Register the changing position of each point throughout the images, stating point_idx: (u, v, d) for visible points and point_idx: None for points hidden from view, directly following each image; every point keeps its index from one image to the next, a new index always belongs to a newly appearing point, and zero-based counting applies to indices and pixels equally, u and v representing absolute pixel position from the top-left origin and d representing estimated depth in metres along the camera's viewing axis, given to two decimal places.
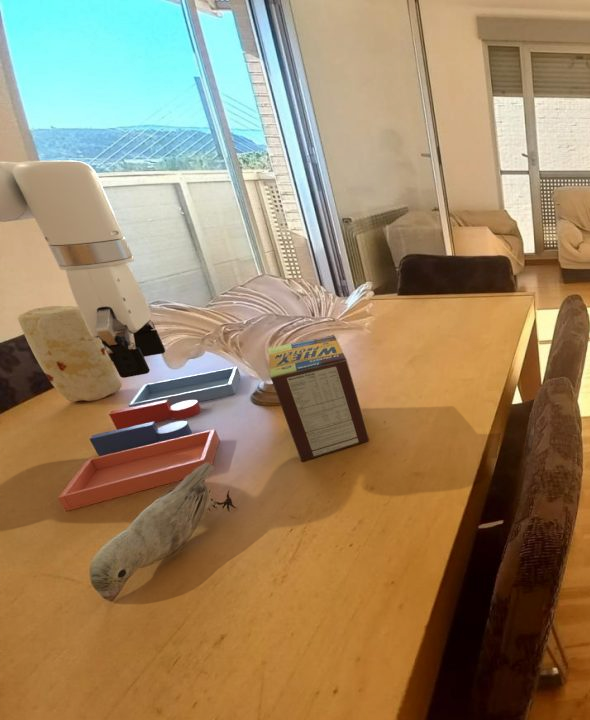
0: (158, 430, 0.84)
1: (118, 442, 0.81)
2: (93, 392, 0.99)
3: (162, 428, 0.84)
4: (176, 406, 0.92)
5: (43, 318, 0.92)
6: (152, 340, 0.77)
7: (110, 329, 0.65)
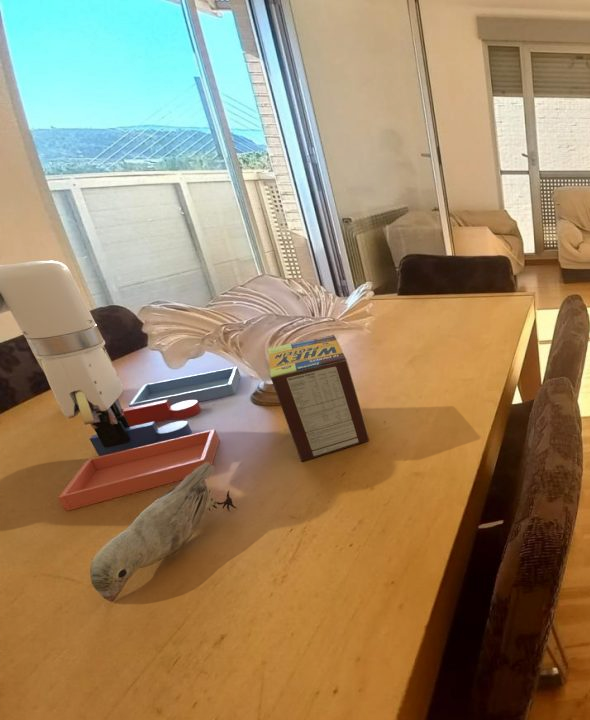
0: (158, 430, 0.84)
1: None
2: None
3: (162, 428, 0.84)
4: (176, 406, 0.92)
5: None
6: None
7: (95, 418, 0.75)
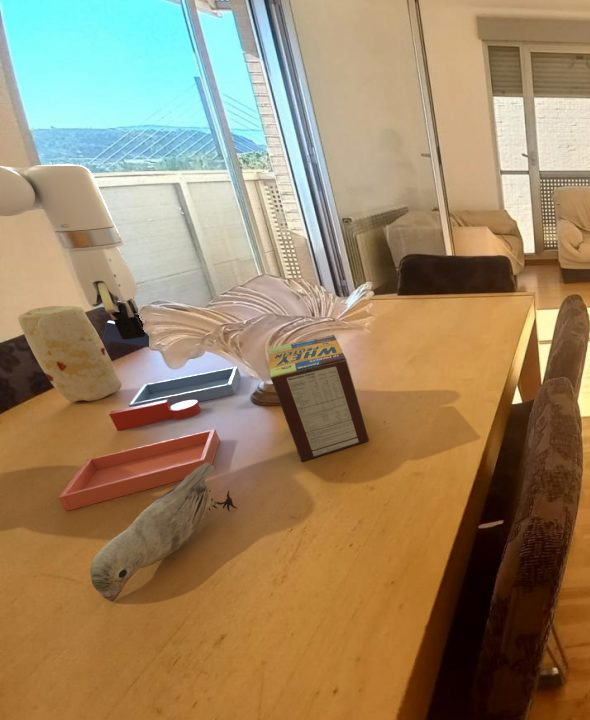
0: None
1: None
2: (93, 392, 0.99)
3: None
4: (176, 406, 0.92)
5: (43, 318, 0.92)
6: None
7: (115, 308, 0.85)
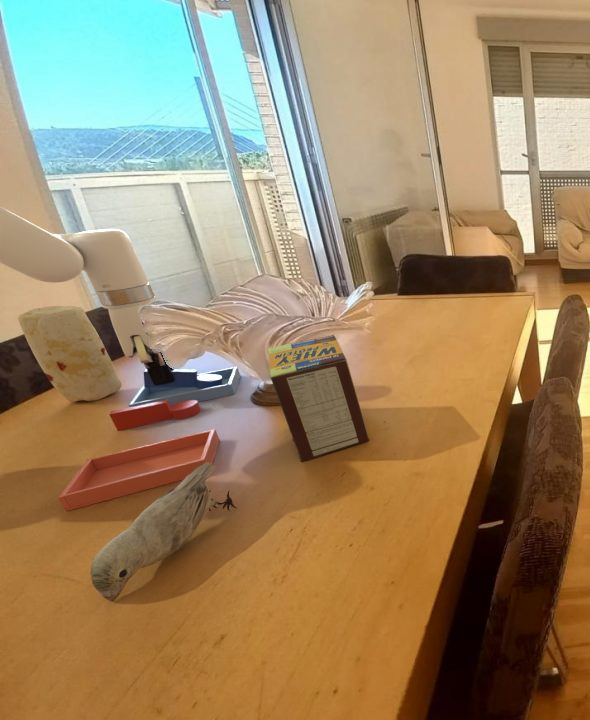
0: (198, 377, 1.01)
1: None
2: (93, 392, 0.99)
3: (201, 376, 1.02)
4: (176, 406, 0.92)
5: (43, 318, 0.92)
6: None
7: (149, 358, 0.92)
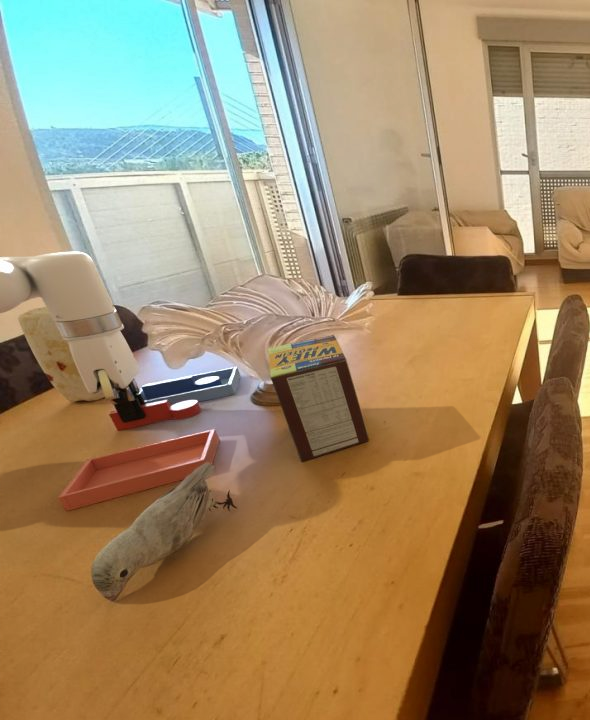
0: (195, 382, 1.01)
1: (164, 390, 0.98)
2: None
3: (199, 381, 1.02)
4: (176, 406, 0.92)
5: (43, 318, 0.92)
6: None
7: (115, 394, 0.83)
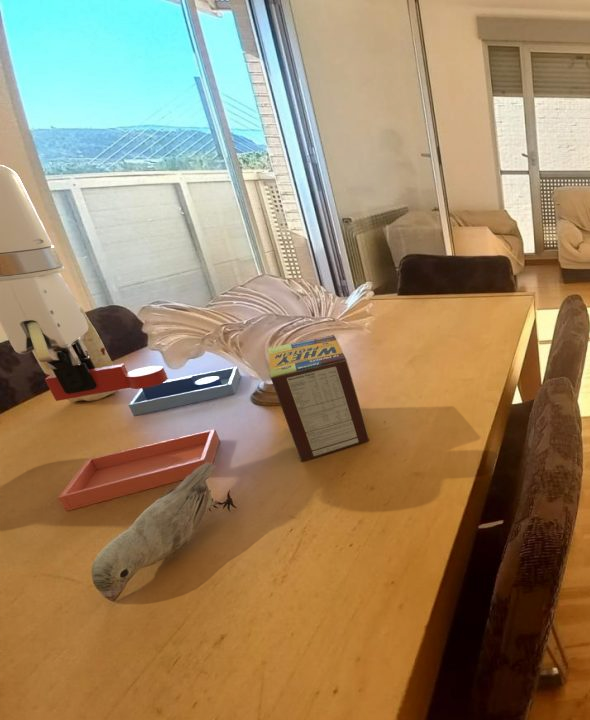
0: (195, 382, 1.01)
1: (164, 390, 0.98)
2: None
3: (199, 381, 1.02)
4: (135, 372, 0.73)
5: None
6: None
7: (52, 355, 0.64)
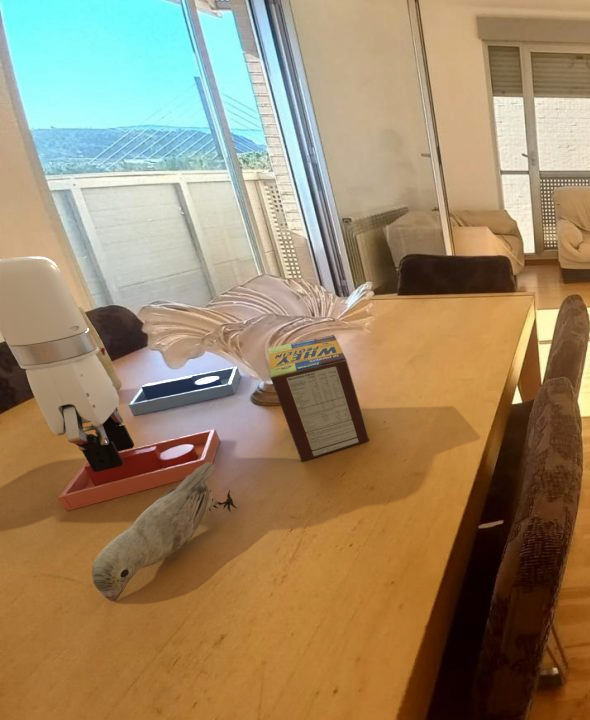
0: (195, 382, 1.01)
1: (164, 390, 0.98)
2: None
3: (199, 381, 1.02)
4: (167, 453, 0.76)
5: None
6: (120, 436, 0.74)
7: (81, 435, 0.65)
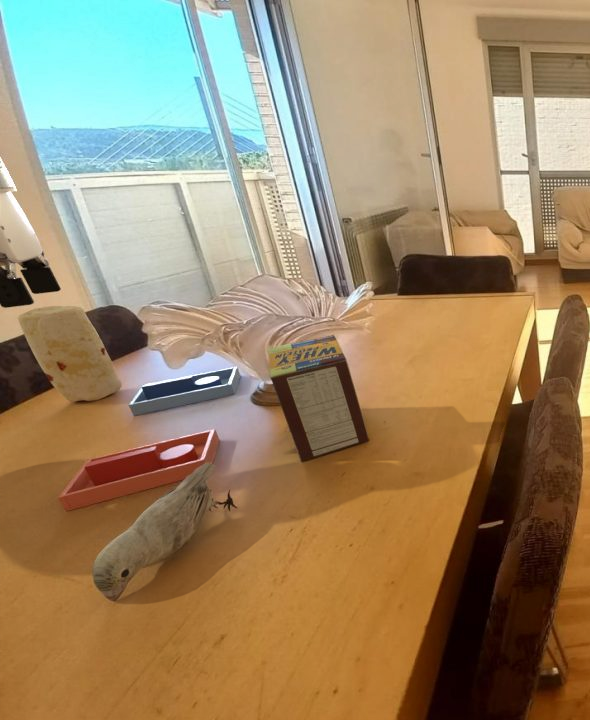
0: (195, 382, 1.01)
1: (164, 390, 0.98)
2: (93, 392, 0.99)
3: (199, 381, 1.02)
4: (167, 453, 0.76)
5: (43, 318, 0.92)
6: (45, 277, 0.77)
7: None
